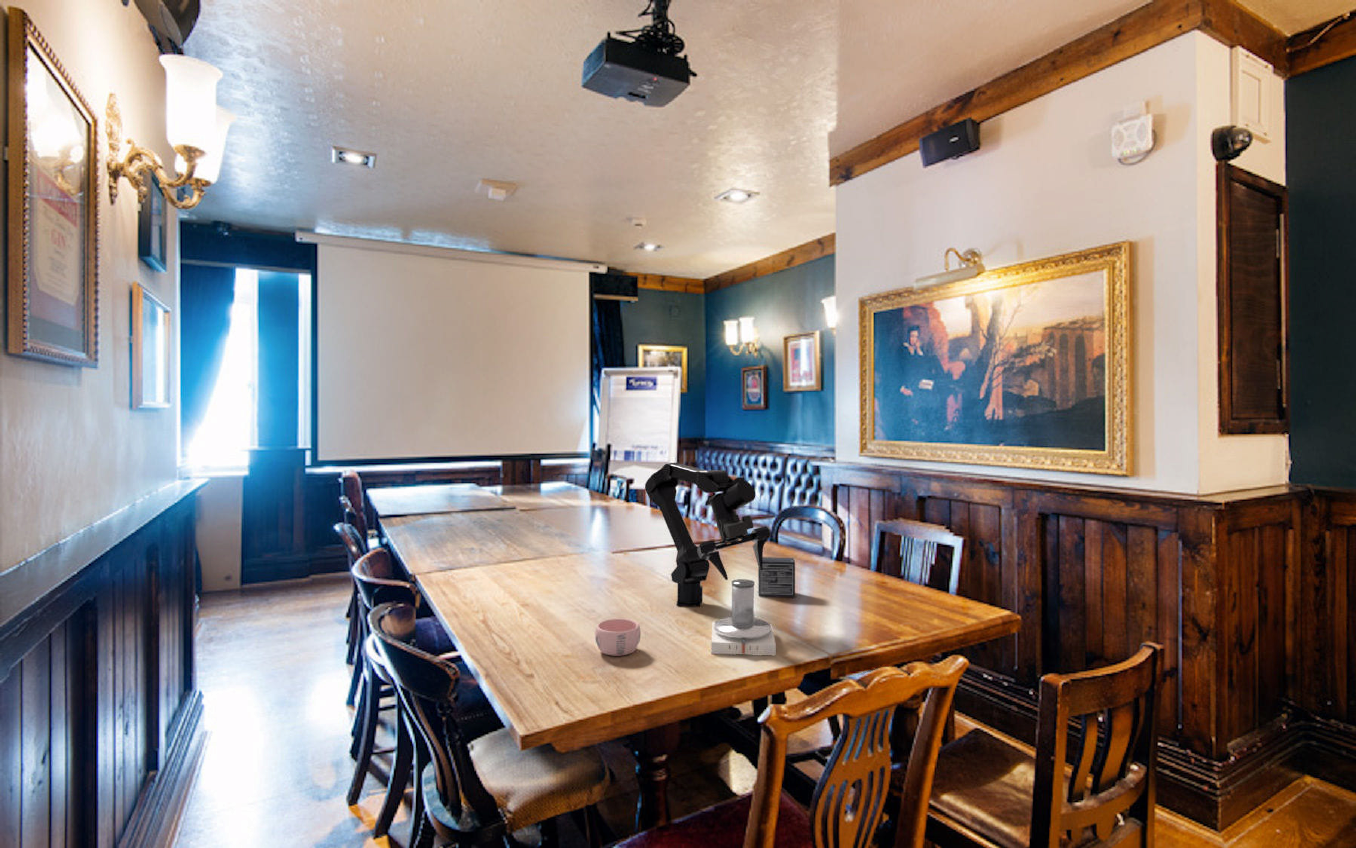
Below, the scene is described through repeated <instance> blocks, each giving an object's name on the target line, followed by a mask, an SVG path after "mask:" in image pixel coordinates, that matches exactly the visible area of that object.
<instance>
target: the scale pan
mask: <svg viewBox="0 0 1356 848" xmlns="http://www.w3.org/2000/svg"><path fill="white" fill-rule="evenodd" d="M714 622H715V624H714V629H715V631H716V632H717V633H719V634H721V635H724V636H727V637H731V638H739V639H742V653H744V654H745V639H754V638H761V637H764V636H767V635H769V634H770V633H771V626H772V624H771V623H769V622H768V621H766V620H763V619H760V618H756V617H754V625H753V627H752V628H750V629H738V628H734V627H733V626H732V616H729V617H728V616H727V617H724V618H721V619H717V620H716V621H714ZM770 624H771V625H770Z"/></svg>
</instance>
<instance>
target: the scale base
mask: <svg viewBox="0 0 1356 848" xmlns="http://www.w3.org/2000/svg"><path fill="white" fill-rule="evenodd" d="M715 622H716V621H712V626H711V627H712V629H711V642H710V643H711V648H710V649H711V651H710V653H711V654H717V655H718V654H719V655H736V654H744V653H742V639H739V638H731V637H727V636H724V635H721V634H719V633H717V632H716V631H715V629H714V624H715ZM769 624H770V625H771V633H770V634H769V635H767V636H764V637H761V638H754V639H745V654H762V655H764V654H765V655H776V652H777V651H776V649H777V648H776V647H777V644H776V639H775V635H774V631H773V627H772V623H769ZM762 655H761V656H762Z"/></svg>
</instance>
